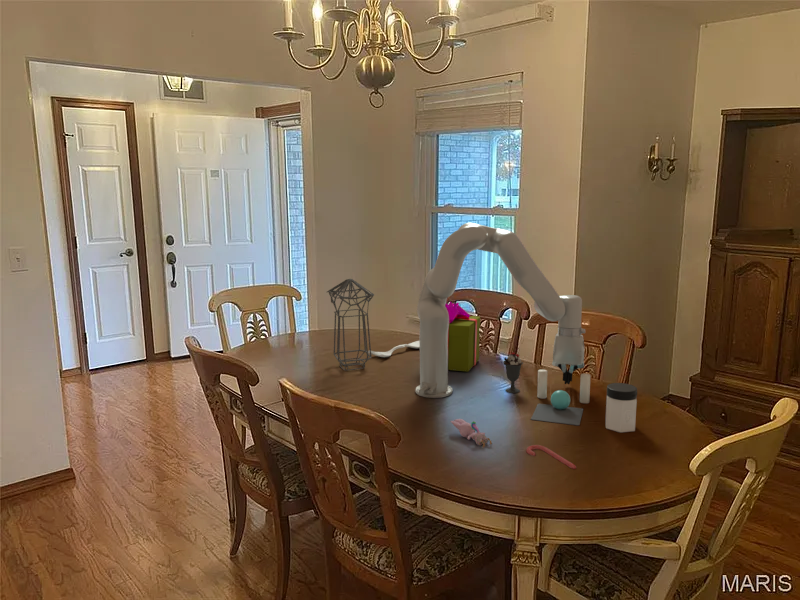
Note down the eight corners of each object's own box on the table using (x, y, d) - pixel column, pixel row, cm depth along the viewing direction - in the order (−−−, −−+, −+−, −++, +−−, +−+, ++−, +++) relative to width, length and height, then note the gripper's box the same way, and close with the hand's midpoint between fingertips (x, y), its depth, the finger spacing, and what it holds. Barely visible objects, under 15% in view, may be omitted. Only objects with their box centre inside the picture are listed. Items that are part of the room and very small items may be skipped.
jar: (613, 434, 170) (616, 393, 167) (598, 423, 177) (600, 384, 175) (642, 430, 171) (644, 390, 169) (625, 420, 179) (627, 381, 177)
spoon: (367, 358, 249) (366, 350, 249) (421, 343, 271) (421, 336, 270) (381, 362, 243) (381, 354, 242) (435, 347, 265) (435, 339, 264)
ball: (569, 406, 191) (569, 414, 186) (549, 403, 193) (549, 410, 187) (571, 388, 190) (571, 395, 184) (552, 385, 191) (551, 392, 186)
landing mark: (579, 425, 176) (579, 425, 176) (530, 419, 181) (530, 419, 181) (583, 409, 188) (583, 408, 188) (537, 404, 193) (537, 403, 193)
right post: (588, 403, 193) (590, 376, 191) (579, 402, 194) (580, 375, 192) (589, 400, 196) (590, 374, 194) (579, 399, 197) (581, 373, 195)
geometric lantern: (366, 360, 245) (364, 274, 239) (377, 371, 231) (375, 280, 224) (328, 364, 240) (324, 277, 234) (336, 375, 226) (333, 283, 219)
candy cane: (558, 475, 147) (558, 470, 147) (521, 451, 161) (521, 446, 160) (577, 470, 150) (577, 465, 149) (539, 447, 163) (540, 442, 163)
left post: (545, 399, 198) (546, 372, 196) (536, 398, 199) (537, 371, 197) (547, 396, 201) (547, 370, 199) (538, 395, 202) (538, 369, 200)
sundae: (524, 389, 208) (525, 346, 205) (519, 395, 202) (520, 351, 199) (505, 386, 211) (506, 345, 208) (500, 392, 205) (501, 349, 202)
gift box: (480, 358, 246) (480, 298, 241) (477, 374, 225) (478, 308, 221) (430, 356, 249) (429, 297, 245) (423, 371, 229) (422, 307, 224)
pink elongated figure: (495, 448, 165) (460, 423, 176) (498, 429, 163) (462, 405, 174) (478, 454, 161) (443, 428, 173) (481, 435, 159) (445, 409, 171)
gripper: (593, 330, 206) (590, 382, 210) (548, 327, 212) (546, 377, 215) (591, 335, 199) (589, 388, 203) (545, 332, 205) (543, 384, 208)
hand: (567, 382), depth 209 cm, fingers closed
